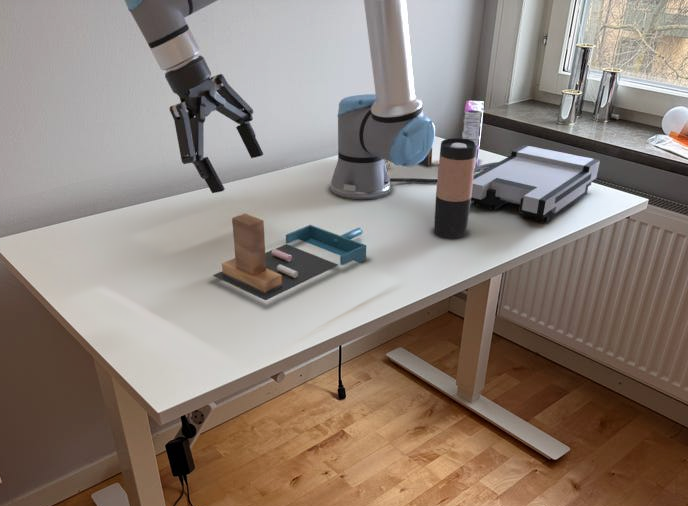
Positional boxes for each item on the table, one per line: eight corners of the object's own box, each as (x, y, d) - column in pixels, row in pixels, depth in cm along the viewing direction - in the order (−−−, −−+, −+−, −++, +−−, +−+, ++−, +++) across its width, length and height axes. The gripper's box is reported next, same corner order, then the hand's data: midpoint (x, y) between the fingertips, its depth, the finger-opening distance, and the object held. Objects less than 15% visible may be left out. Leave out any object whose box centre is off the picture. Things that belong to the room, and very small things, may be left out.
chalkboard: (286, 250, 149) (286, 243, 149) (338, 271, 141) (338, 264, 140) (213, 282, 137) (212, 275, 136) (265, 307, 129) (265, 300, 128)
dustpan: (342, 271, 141) (342, 256, 139) (286, 249, 150) (285, 234, 148) (389, 248, 151) (390, 233, 149) (334, 228, 159) (334, 214, 158)
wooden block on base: (239, 267, 139) (235, 207, 132) (282, 286, 132) (279, 224, 125) (222, 275, 136) (216, 214, 129) (265, 294, 129) (261, 231, 123)
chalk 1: (275, 255, 144) (277, 249, 144) (290, 262, 142) (292, 255, 141) (270, 255, 143) (272, 248, 143) (286, 261, 140) (288, 254, 140)
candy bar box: (460, 159, 202) (466, 99, 193) (477, 160, 201) (484, 100, 192) (458, 171, 193) (464, 110, 184) (476, 172, 192) (483, 111, 183)
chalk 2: (281, 269, 138) (281, 263, 137) (298, 276, 136) (298, 270, 135) (276, 272, 137) (276, 265, 137) (293, 279, 135) (293, 272, 134)
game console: (459, 209, 169) (463, 176, 165) (518, 175, 191) (523, 144, 186) (540, 230, 159) (546, 195, 154) (593, 191, 180) (600, 160, 175)
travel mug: (425, 232, 157) (433, 143, 146) (445, 223, 162) (454, 135, 151) (454, 242, 153) (463, 150, 142) (473, 232, 158) (484, 142, 147)
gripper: (208, 42, 132) (258, 146, 143) (122, 98, 116) (186, 209, 127) (236, 31, 127) (286, 139, 138) (151, 87, 112) (215, 204, 123)
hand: (238, 173), depth 133 cm, fingers open, 13 cm apart
